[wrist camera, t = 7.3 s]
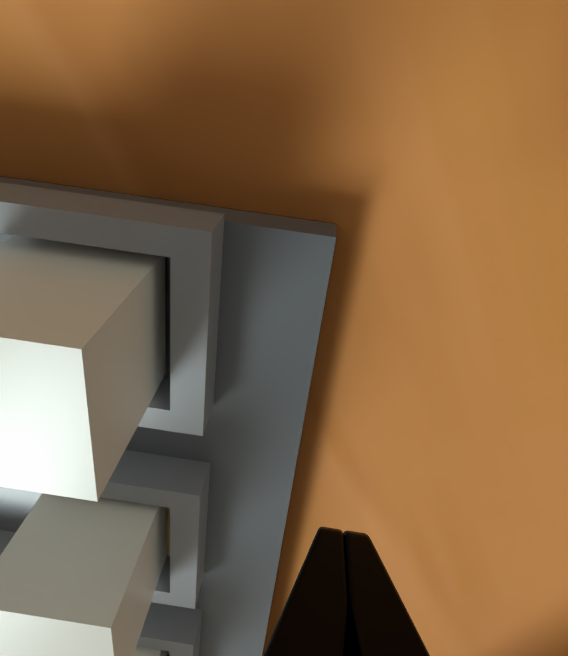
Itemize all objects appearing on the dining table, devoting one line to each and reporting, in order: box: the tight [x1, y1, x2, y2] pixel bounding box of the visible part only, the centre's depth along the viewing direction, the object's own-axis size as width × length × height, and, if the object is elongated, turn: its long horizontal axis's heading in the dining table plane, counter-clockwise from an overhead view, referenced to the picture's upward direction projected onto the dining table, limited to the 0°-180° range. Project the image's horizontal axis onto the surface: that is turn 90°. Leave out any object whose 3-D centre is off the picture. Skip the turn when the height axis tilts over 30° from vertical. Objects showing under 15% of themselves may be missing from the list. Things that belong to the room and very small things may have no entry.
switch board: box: [0, 176, 336, 656], centre depth 19 cm, size 19×24×3 cm
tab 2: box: [0, 493, 166, 656], centre depth 16 cm, size 4×4×5 cm
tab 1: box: [0, 235, 166, 502], centre depth 12 cm, size 4×4×5 cm
